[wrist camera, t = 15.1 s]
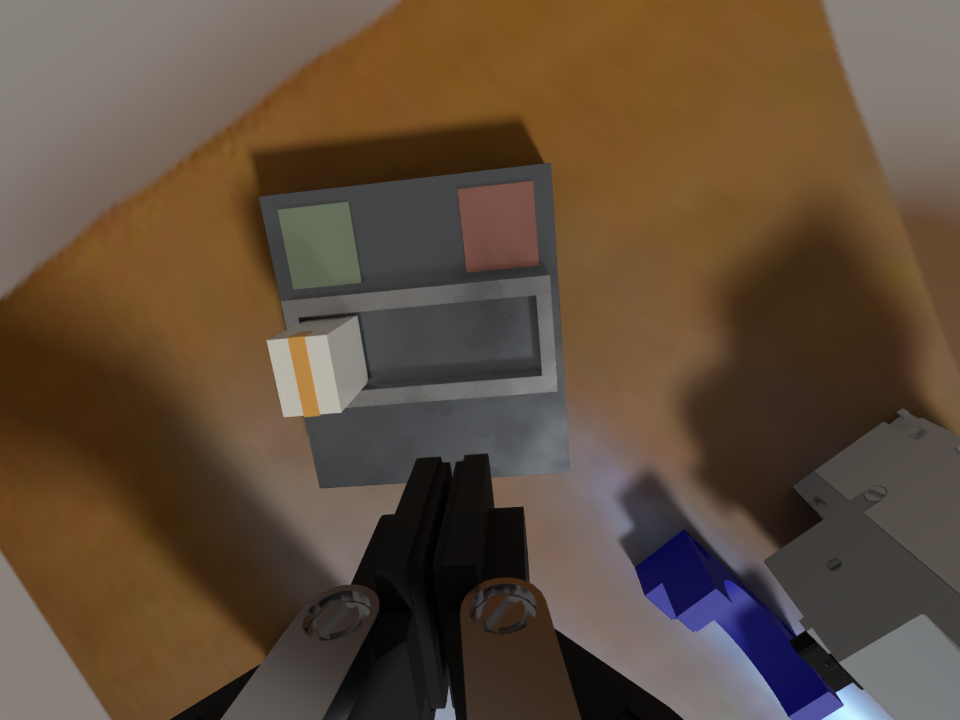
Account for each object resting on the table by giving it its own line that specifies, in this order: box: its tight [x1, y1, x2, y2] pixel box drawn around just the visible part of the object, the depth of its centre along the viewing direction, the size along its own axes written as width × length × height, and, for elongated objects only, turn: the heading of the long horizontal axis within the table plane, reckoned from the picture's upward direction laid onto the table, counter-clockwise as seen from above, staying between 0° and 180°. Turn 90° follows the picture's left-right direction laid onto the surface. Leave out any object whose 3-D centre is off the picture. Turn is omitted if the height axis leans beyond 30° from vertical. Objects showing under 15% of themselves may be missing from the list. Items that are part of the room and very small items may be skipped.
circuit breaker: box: [764, 408, 960, 720], centre depth 27 cm, size 8×14×15 cm, turn 135°
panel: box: [259, 163, 570, 488], centre depth 31 cm, size 18×16×4 cm
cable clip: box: [635, 530, 844, 720], centre depth 34 cm, size 12×4×6 cm, turn 47°
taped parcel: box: [267, 315, 368, 417], centre depth 27 cm, size 4×3×5 cm
